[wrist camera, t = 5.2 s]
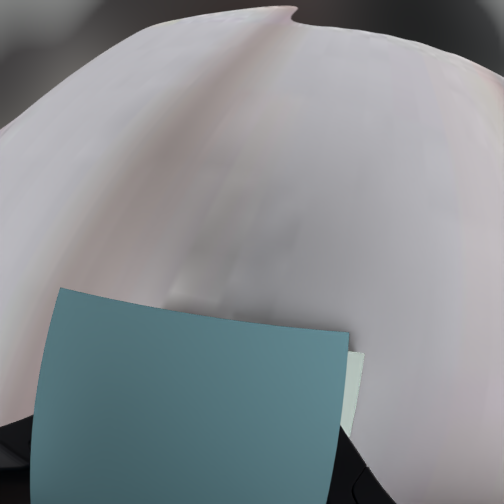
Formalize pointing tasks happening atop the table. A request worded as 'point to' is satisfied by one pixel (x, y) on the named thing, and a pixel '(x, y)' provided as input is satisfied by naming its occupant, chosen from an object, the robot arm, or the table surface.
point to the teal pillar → (183, 408)
